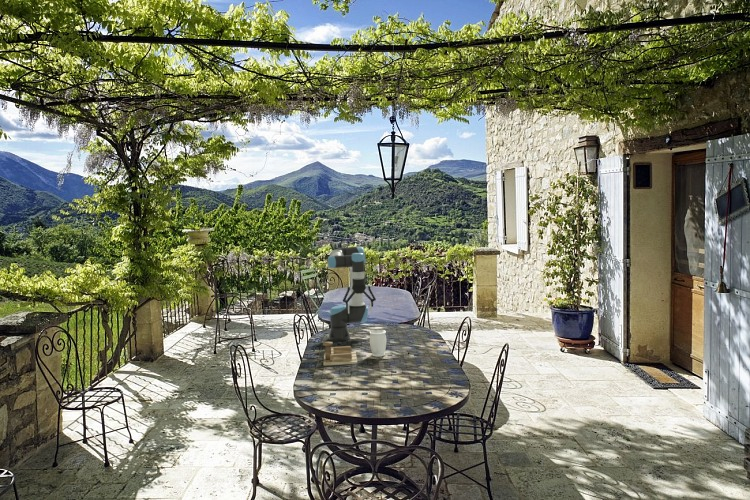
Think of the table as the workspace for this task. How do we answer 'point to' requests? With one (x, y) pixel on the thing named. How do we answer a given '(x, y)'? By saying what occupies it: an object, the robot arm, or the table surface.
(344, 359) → the tan wooden platform
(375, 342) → the jar
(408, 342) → the table surface
